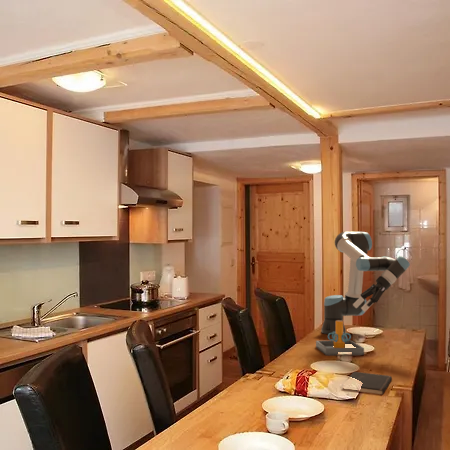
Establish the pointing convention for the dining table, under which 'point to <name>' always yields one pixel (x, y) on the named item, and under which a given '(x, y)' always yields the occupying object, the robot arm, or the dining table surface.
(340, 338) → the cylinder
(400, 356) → the dining table surface
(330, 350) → the tray
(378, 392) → the hardcover book
